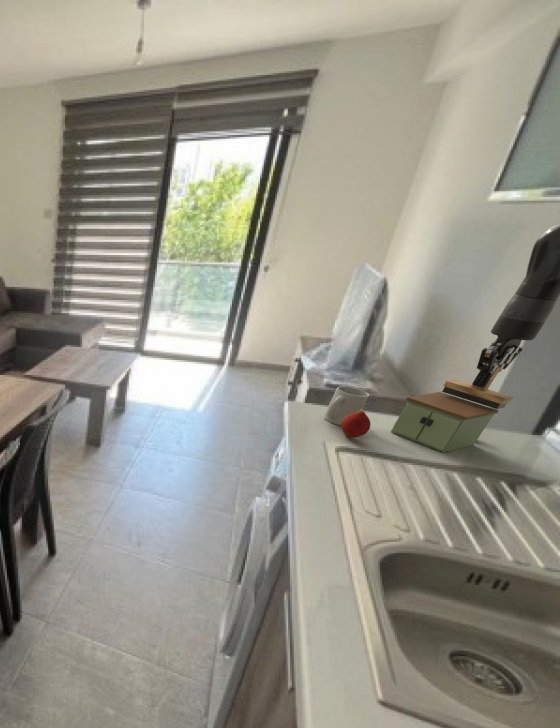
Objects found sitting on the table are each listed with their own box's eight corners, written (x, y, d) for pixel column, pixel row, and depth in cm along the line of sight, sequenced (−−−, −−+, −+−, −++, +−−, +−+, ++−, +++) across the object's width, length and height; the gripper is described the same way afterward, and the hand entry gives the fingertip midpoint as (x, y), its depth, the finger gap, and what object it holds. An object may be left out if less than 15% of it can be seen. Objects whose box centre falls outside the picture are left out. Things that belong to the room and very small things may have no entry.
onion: (361, 437, 125) (376, 409, 121) (363, 445, 120) (378, 416, 116) (334, 430, 127) (348, 403, 123) (336, 438, 123) (350, 410, 119)
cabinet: (475, 445, 124) (499, 410, 119) (442, 454, 118) (465, 417, 114) (420, 424, 134) (439, 391, 129) (386, 431, 129) (405, 397, 124)
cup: (360, 425, 132) (375, 394, 127) (337, 429, 128) (352, 398, 124) (333, 414, 137) (347, 385, 133) (310, 418, 134) (324, 388, 129)
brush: (506, 408, 118) (529, 373, 114) (497, 409, 117) (521, 375, 112) (448, 389, 128) (467, 357, 123) (439, 391, 126) (459, 358, 122)
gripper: (530, 322, 107) (484, 394, 115) (559, 319, 112) (513, 388, 120) (487, 314, 113) (447, 383, 121) (517, 311, 118) (476, 378, 126)
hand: (480, 385), depth 121 cm, fingers closed on brush, 2 cm apart
